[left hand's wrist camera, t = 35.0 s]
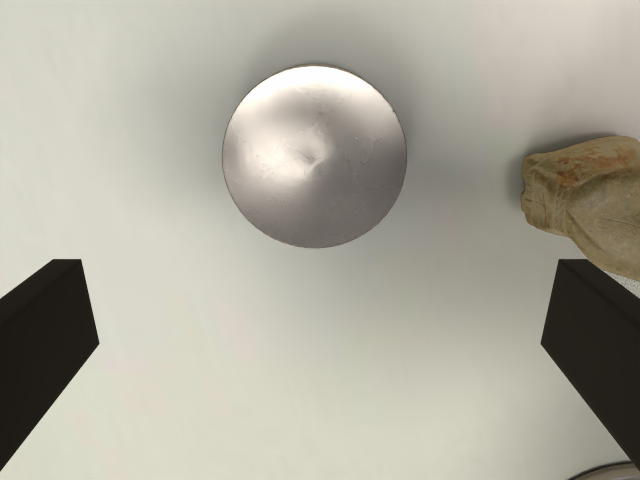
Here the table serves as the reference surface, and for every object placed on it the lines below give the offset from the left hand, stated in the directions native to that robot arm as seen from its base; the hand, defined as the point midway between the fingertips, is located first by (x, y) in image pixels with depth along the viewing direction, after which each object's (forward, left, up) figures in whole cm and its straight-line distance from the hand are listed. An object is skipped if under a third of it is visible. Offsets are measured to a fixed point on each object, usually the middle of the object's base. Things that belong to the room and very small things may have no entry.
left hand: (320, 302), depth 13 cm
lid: (0, 0, -14) cm, 14 cm away
